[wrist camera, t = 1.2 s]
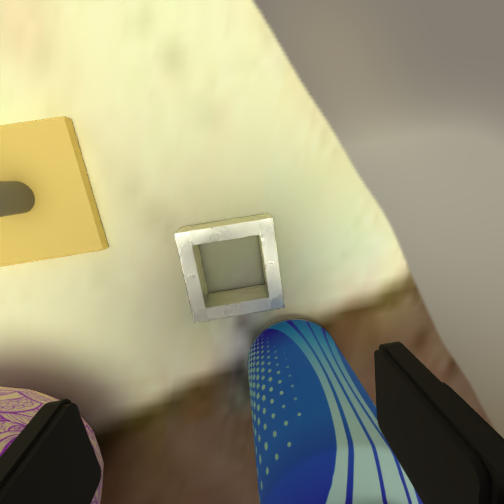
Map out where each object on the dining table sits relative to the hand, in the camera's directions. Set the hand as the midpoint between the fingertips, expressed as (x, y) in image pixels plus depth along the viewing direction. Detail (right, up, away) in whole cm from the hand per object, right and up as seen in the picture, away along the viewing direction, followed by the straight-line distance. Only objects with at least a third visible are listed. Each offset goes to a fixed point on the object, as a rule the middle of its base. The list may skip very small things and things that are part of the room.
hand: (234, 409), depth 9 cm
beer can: (+4, -5, +19) cm, 20 cm away
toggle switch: (-17, +9, +14) cm, 24 cm away
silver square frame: (-1, +4, +16) cm, 17 cm away
